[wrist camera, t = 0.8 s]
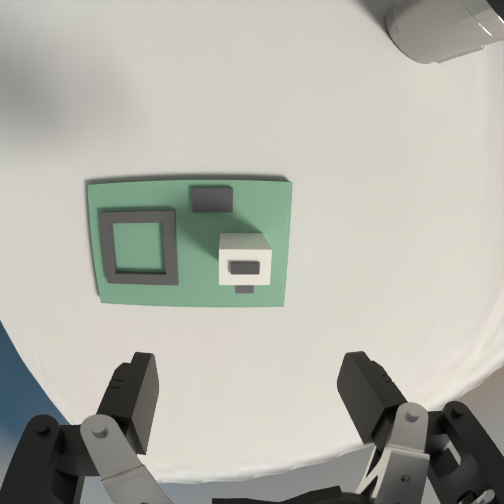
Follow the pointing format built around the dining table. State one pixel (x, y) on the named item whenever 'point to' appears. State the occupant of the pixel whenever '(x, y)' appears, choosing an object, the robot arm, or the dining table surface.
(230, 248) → the plug
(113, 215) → the board
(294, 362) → the dining table surface
